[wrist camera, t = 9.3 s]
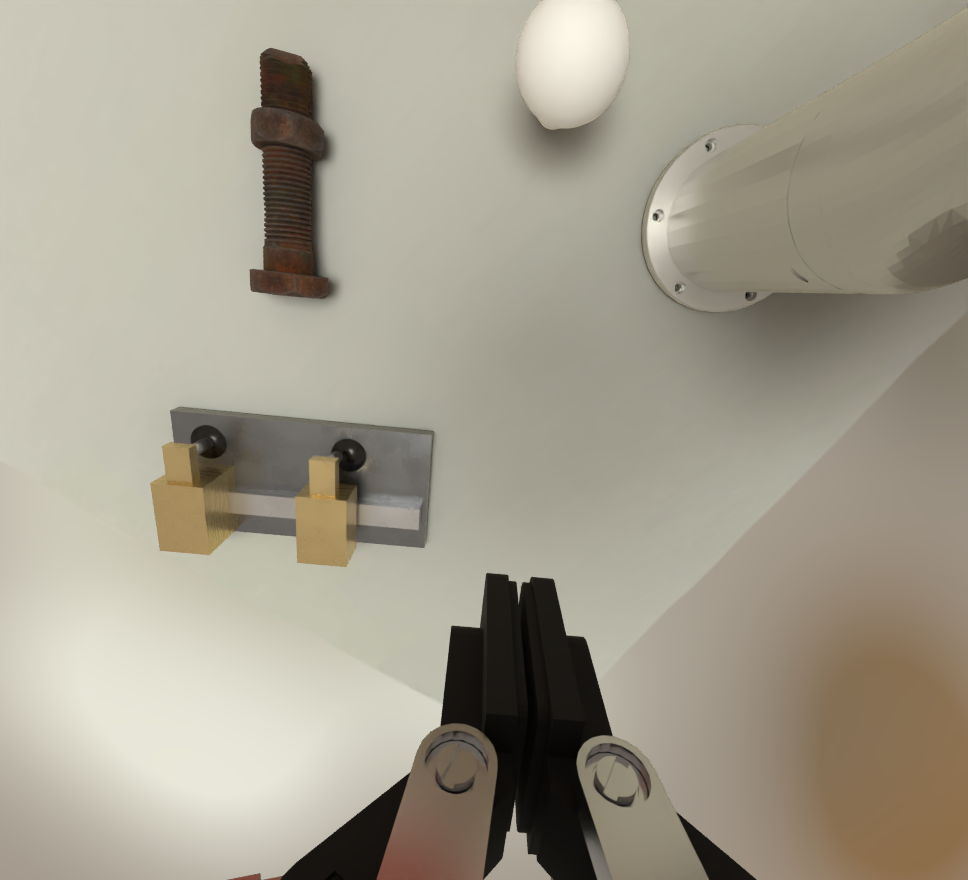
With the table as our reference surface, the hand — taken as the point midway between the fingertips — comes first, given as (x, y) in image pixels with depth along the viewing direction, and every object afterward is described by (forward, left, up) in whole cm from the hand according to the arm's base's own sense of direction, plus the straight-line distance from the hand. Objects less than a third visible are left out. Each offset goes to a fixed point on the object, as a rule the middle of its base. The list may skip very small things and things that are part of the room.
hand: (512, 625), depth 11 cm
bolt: (+16, -13, -30) cm, 36 cm away
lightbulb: (-2, -20, -29) cm, 36 cm away
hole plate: (+16, +10, -29) cm, 35 cm away
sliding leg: (+13, +10, -27) cm, 32 cm away
